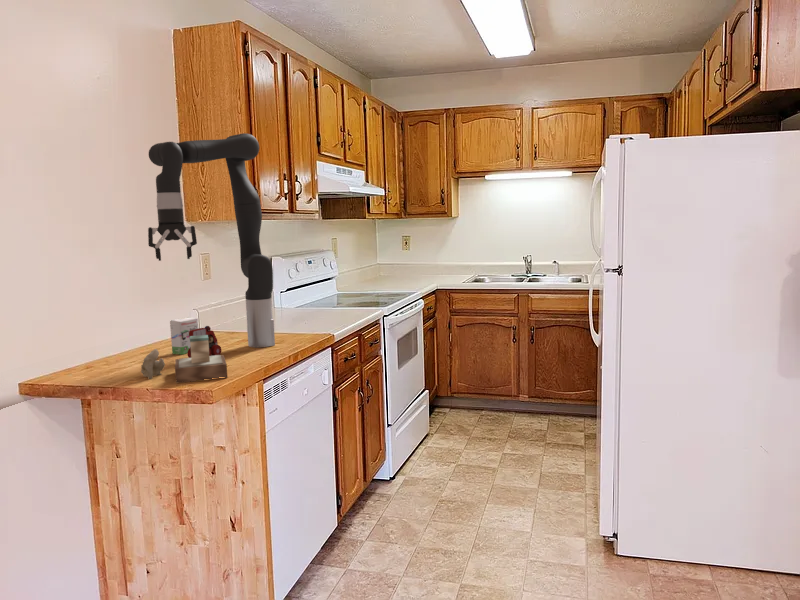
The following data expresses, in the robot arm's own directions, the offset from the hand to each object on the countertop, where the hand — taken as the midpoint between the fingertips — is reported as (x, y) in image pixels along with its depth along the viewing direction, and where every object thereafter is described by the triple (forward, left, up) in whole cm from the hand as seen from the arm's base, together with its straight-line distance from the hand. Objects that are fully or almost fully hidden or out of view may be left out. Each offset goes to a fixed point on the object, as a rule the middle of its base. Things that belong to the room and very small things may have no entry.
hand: (174, 259), depth 195 cm
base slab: (-6, +20, -33) cm, 39 cm away
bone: (+8, +14, -34) cm, 38 cm away
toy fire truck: (-8, -6, -34) cm, 35 cm away
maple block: (-6, +20, -29) cm, 36 cm away
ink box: (-1, -19, -34) cm, 39 cm away
